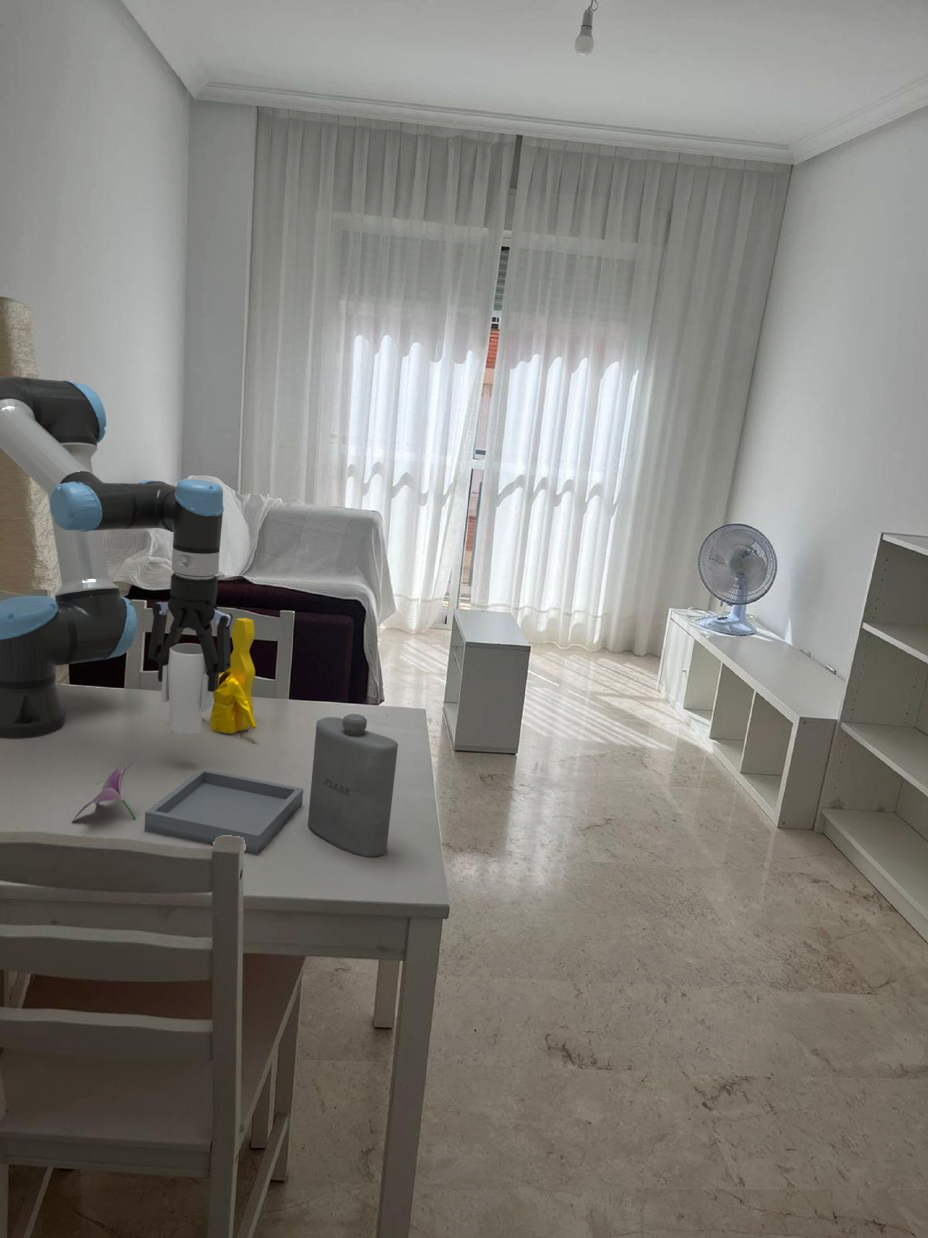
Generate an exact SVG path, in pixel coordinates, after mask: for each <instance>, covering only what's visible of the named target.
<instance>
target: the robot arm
mask: <svg viewBox="0 0 928 1238" xmlns="http://www.w3.org/2000/svg"><path fill="white" fill-rule="evenodd" d="M106 427H107V416H106V410H105V408H104V404H103V402H102V400H101V398H100V396H99V395H98V393H97V392H95V390H93V389H92V388H91V387H90V386H89V385H86V384H84V383H79V382H72V381H70V380H65V379H64V380H56V379H55V380H54V379H53V380H52V379H44V378H43V379H42V378H33V377H31V378H30V377H21V376H12V375H7V376H1V377H0V450H3V452H4V453H5V454H6V455H8V457H10V459H12V461H13V462H15V463H16V465H17V466H18V467H19V468H21V469H22V470H23V472H25V473H26V475H27V476H28V477H30V478H31V479H32V480H33V481H34V482H35V483H36V484H37V486H39V487H40V488H41V489H42V490H43V491H44V492H45V493H46V494H47V497H48V498H47V499H48V503H49V510H50V517H51V518H50V519H51V523H52V529H53V530H52V531H53V536H54V543H55V544H54V545H55V550H56V556H57V562H58V569H59V574H60V582H61V586H60V588H59V589H58V590H57V591H56V593H55V594H54V598H53V597H50V596H46V595H39V594H38V595H37V594H36V595H21V596H20V595H18V596H14V597H9V598H6V599H3V600H0V738H5V739H7V738H8V739H9V738H10V739H18V738H22V739H23V738H24V739H25V738H33V737H39V736H43V735H48V734H51V733H53V732H56V731H58V730H60V729H61V728H62V727H63V726H65V723H66V709H65V706H64V705H63V702H62V698H61V695H60V692H59V690H58V687H57V681H56V679H57V678H56V677H57V676H56V674H57V673H56V672H57V667H58V666H64V665H71V664H78V663H85V662H86V663H87V662H93V661H105V660H108V659H111V658H116V657H120V656H122V655H124V654H125V653H127V652H128V651H129V650H130V649H131V647H132V646H133V642H134V641H135V639H136V635H137V629H138V628H137V627H138V619H137V617H138V616H137V612H136V609H135V607H134V606H133V603H132V602H131V600H130V599H129V598H127V597H124V596H122V595H121V592H120V587H119V586H118V585H117V584H115V583H114V582H113V581H111V579H110V576H109V569H108V568H109V567H108V563H107V561H108V560H107V557H106V556H107V555H106V551H105V550H106V549H105V543H104V536H103V531H110V530H111V531H112V530H141V529H142V530H144V529H147V530H148V529H161V530H162V529H163V530H164V531H168V532H171V533H173V535H172V536H173V540H172V541H173V542H172V557H171V558H172V559H171V571H173V573H172V574H171V576H170V587H169V588H170V591H169V592H170V593H169V594H170V598H169V600H168V601H162V600H161V601H158V602H156V603H153V604H152V605H151V609H152V616H153V619H152V620H153V621H152V625H151V632H150V640H149V645H148V646H149V647H148V653H147V657H148V659H149V660H154V661H155V662H157V664H158V670H157V672H158V673H157V680H158V682H161V697H160V698H161V699H160V703H163V704H164V703H167V702H169V686H168V661H169V651H170V647H173V646H175V645H176V644H179V641H180V639H181V637H182V634H183V632H184V630H185V629H187V628H188V629H190V630H193V631H195V634H196V636H197V637H198V640H199V645H201V648H202V652H203V655H204V659H205V663H206V667H207V671H208V672H206V673H204V674H203V683H202V698H201V710H203V712H205V711H207V710H208V709H210V708H211V707H213V700H214V698H213V692H214V691H216V690H217V688H218V681H219V674H222V673H223V672H225V671H226V670H228V669H230V667H231V658H230V655H231V628H230V627H231V624H232V621H233V618H234V616H233V614H232V613H224V612H222V611H219V608H218V607H217V603H216V601H217V595H218V582H219V579H218V577H217V575H218V574H219V572H220V571H219V570H220V566H219V565H220V552H221V551H220V549H221V538H222V526H223V516H224V515H223V514H224V510H225V508H224V490H223V487H222V486H221V485H220V484H219V483H217V482H214V481H208V480H203V479H180V480H179V481H178V482H177V483H176V486H175V485H172V484H169V483H166V482H165V481H161V480H152V479H151V480H150V479H146V480H142V481H140V482H139V483H138V482H137V483H128V482H127V483H124V482H121V483H116V482H114V483H111V482H103V481H102V480H101V479H99V477H98V476H96V475H95V474H94V472H93V465H92V457H93V456H94V455H95V454H96V452H97V451H98V449H99V448H98V444H99V443H100V442H101V441H102V440H103V439H104V437H105V434H106V429H105V428H106ZM169 612H170V614H171V616H172V617H173V620H172V622H171V624H170V627H169V629H170V630H169V632H168V635H167V637H166V640H165V641H164V639H165V634H166V627H167V621H168V614H169ZM214 619H215V624H216V625H217V627H216V645H215V641H214V637H213V633H212V632H213V628H212V623H211V622H212V620H214Z"/></svg>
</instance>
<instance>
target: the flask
mask: <svg viewBox="0 0 928 1238" xmlns="http://www.w3.org/2000/svg"><path fill="white" fill-rule="evenodd" d="M367 723H368V720H367V718H366V717H364V715H362V714H356V713H351V714H346V715H345V716H343V718H340V717H336V716H328V717H327V716H326V717H322V718H320V719H318V720H317V721H316V724H315V725H316V727H315V737H314V739H315V740H314V750H313V760H312V772H311V781H310V794H309V796H310V797H309V806H308V819H307V824H308V825H307V826H308V828H309V829H310V830H311V831H312V832H313V833H315V834H316V835H317V836H319V837H321V839H323V840H325V841H326V842H329V844H332V845H334V846H336V847H338V848H341V849H343V850H345V851H348V852H350V853H352V854H356V855H359V856H362V857H368V858H373V857H380V856H382V855H384V854H385V853H386V852H387V849H388V841H389V831H390V822H391V812H392V803H393V794H394V784H395V775H396V766H397V758H398V749H399V747H398V746H399V743H397V741H396V740H394V739H392V738H390V737H387V736H385V735H380V734H379V733H378V734H377V733H374V732H372V731H369V730H366V729H367V726H368V725H367Z"/></svg>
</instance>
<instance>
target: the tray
mask: <svg viewBox="0 0 928 1238" xmlns="http://www.w3.org/2000/svg"><path fill="white" fill-rule="evenodd" d="M303 797H304V788H303V787H296V786H292V785H289V784H288V785H287V784H283V783H278V782H272V781H268V780H262V779H257V778H251V777H246V776H242V775H237V774H236V775H235V774H231V773H226V772H221V771H217V770H211V769H205V768H200V769H199V770H198V771H196V772H195V773H194V774H192V775H191V776H190V777H189V778H187V779H186V780H185V781H183V782H182V783H181V784H180V785H179V786H177V787H175V789H173V790H172V791H170V792H169V793H168V794H167V795H166V796H164V797H163V798H162V799H160V800H159V801H158V802H157V803H155V804H154V805H152V806H151V807H149V809H148V810H146V811H144V831H145V832H149V833H154V834H158V835H164V836H168V837H174V838H177V839H183V840H188V841H193V842H197V843H202V844H205V845H206V844H207V845H210V844H211V846H214V845H213V842H214V841H215V839H216V838H217V837H218V836H221V835H232V836H240V837H243V838H244V840H245V844H246V850H245V852H244V853H249V854H252V855H253V854H254V855H259V854H260V852H261V851H262V850H264V848H265V847H266V846H267V845H268V844H269V842H271V840H272V839H273V838H274V837H276V835H277V834H278V833H279V832H280V831H281V829H283V828H284V826H285V825H286V824H287V823H288V821H290V819H291V818H292V817H293V816H294V815H295V814H296V813H297V812H298V811H299V810H300V808H301V807H302V806H303V799H304V798H303Z"/></svg>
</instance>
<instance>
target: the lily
mask: <svg viewBox="0 0 928 1238" xmlns="http://www.w3.org/2000/svg"><path fill="white" fill-rule="evenodd" d="M137 759H138V757H135V758H134V759H133V760H132V761H131V762H129V764H128V765H126V766H125V767H123V768H122V769H121V766H120V764H119V765H118V766H117V767H116V768H115V769H114V770H113V771H112V772H111V773H109V776H107V778H106V779H105V781H103V780H100V781H101V782H100V781H98V783H96V785H100V786H102V788H101V789H102V790H101V791H100V792H99V793H98V794H97V795H95V797H94V798H93V799H92V800H91V801H90V802H88V803H86V804H85V805H84V806H83V807H82V808H81V809H80V810H79V812H78V813H77V814H76V815H75V816H74V818H73V819H72V821H74V820H76V819H77V818H78V816H79V815H80V814H81V813H82V812H83V811H84V810H85V809H87V808H88V807H89V806H91V805H92V804H94V805H96V806H98V805H99V804H100V803H103V802H109V801H116V800H119V801H121V802H122V804H123V805H124V806H125V807H126V809H127V810H128V813H130V815H131V817H132V819H133V821H136V819H137V818H136V816H135V815H134V813H133V811H132V809H131V808H130V807H129V804H127V803H126V802H125V800H124V799H123V797H122V782H123V778H124V775H125V774H126V772H127V770H128V769H129V768H130V766H131V765H132V764H133V763H134V762H135V761H136V760H137ZM99 783H100V784H99Z"/></svg>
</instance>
